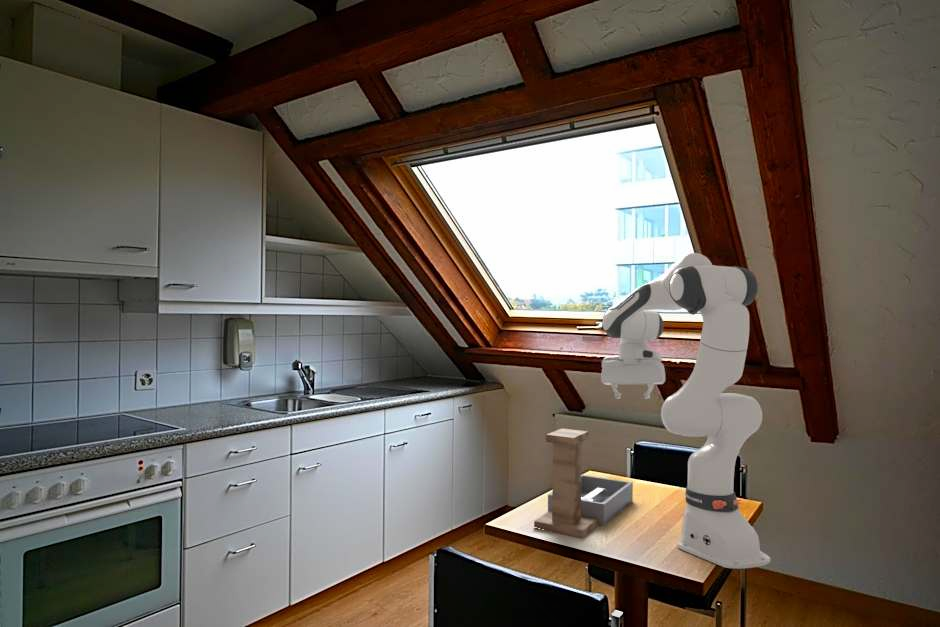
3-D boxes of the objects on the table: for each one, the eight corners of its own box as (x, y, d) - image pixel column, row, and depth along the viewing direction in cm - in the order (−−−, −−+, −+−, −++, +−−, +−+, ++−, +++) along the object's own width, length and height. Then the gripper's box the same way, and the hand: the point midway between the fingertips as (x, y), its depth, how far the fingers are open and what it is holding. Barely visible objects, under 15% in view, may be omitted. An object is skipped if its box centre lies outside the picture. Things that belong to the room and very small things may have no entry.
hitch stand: (551, 516, 184) (552, 427, 184) (598, 525, 177) (599, 432, 177) (534, 528, 174) (535, 433, 174) (582, 538, 167) (583, 439, 167)
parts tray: (581, 492, 209) (581, 474, 208) (632, 501, 200) (632, 482, 200) (547, 515, 185) (548, 494, 185) (603, 525, 177) (604, 504, 177)
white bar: (594, 496, 201) (594, 487, 201) (607, 498, 199) (608, 489, 199) (574, 510, 187) (574, 500, 187) (588, 513, 184) (588, 502, 184)
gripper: (598, 354, 208) (597, 396, 204) (661, 352, 197) (661, 396, 194) (605, 358, 213) (604, 399, 209) (666, 356, 202) (666, 399, 199)
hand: (632, 398), depth 201 cm, fingers open, 8 cm apart
